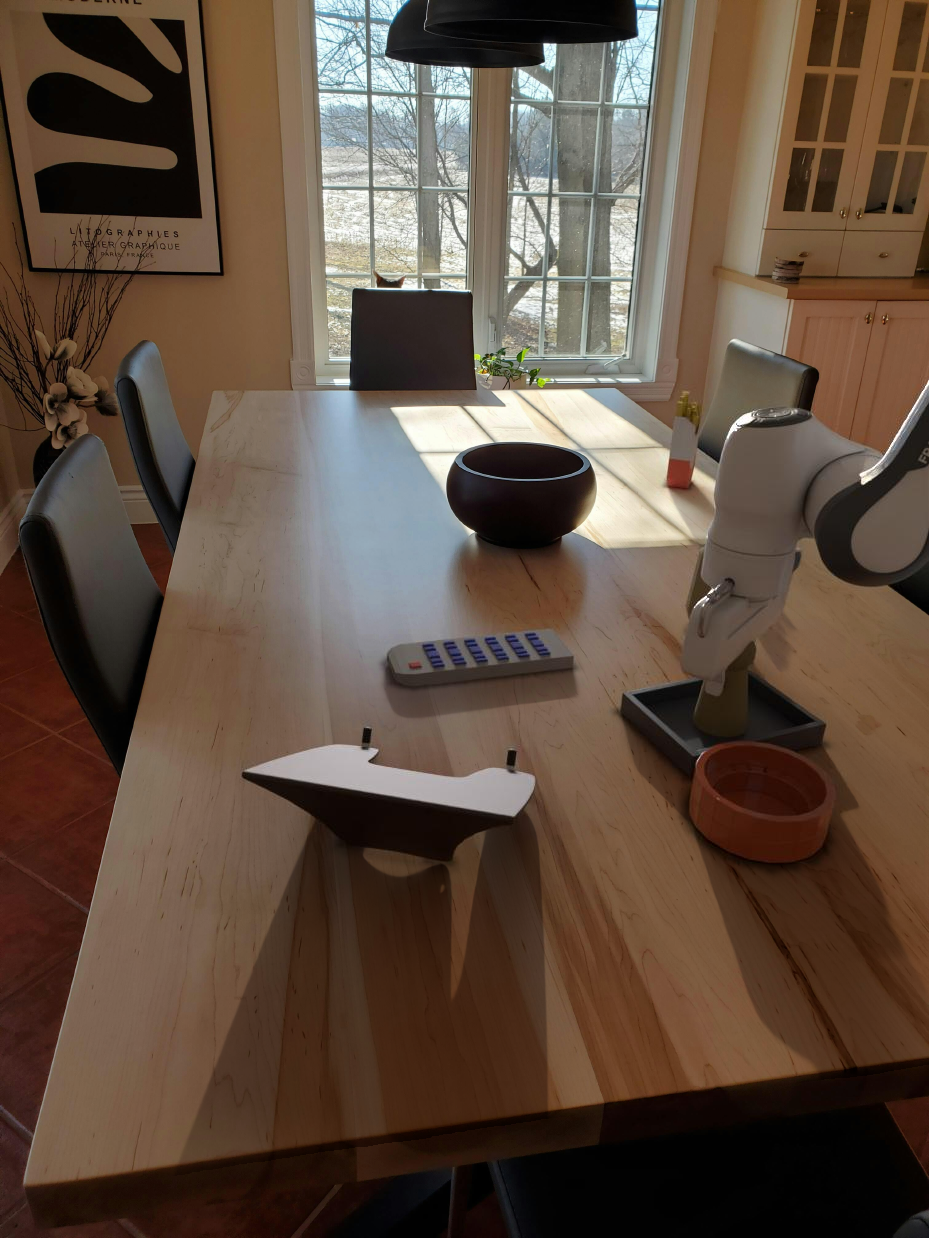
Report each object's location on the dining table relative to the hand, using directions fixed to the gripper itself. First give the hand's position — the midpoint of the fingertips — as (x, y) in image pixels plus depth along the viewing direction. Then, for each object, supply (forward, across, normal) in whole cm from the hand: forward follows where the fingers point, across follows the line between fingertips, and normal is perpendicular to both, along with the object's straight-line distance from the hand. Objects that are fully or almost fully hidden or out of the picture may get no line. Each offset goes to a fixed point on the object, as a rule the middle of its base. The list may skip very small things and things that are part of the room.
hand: (725, 682), depth 99 cm
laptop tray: (+6, -34, +16) cm, 39 cm away
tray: (+6, 0, 0) cm, 6 cm away
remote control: (+6, -5, +30) cm, 31 cm away
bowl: (+6, -14, -10) cm, 18 cm away
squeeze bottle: (+6, +22, +10) cm, 25 cm away
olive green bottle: (+5, 0, 0) cm, 5 cm away
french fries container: (+6, +83, +43) cm, 94 cm away
